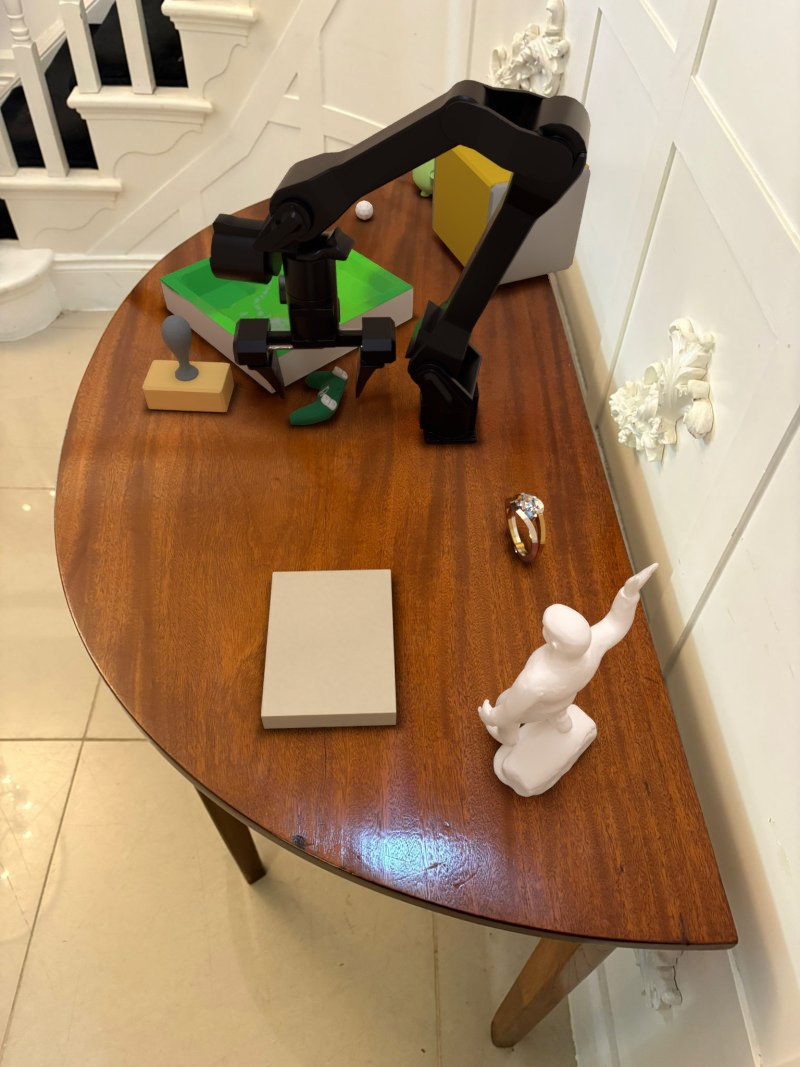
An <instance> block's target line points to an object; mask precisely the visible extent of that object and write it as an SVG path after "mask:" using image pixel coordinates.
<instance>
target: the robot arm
mask: <svg viewBox="0 0 800 1067" xmlns="http://www.w3.org/2000/svg"><path fill="white" fill-rule="evenodd" d="M591 128H592V126H591V119H590V114H589V112H588V110H587V109H586V108H585V105H584V104H583V103H582V102H580V101H579V100H578V99H577V98H575V97H572V96H569V95H565V94H563V95H559V94H558V95H552V96H550V97H548V96H545V95H542V94H539V93H536V92H534V91H530V90H526V89H520V88H519V89H518V88H509V87H498V86H492V85H489V84H486V83H483V82H481V81H478V80H473V79H464V80H460V81H458V82H456V83H455V84H453V85H452V86H451V87H450V88H449V90H447V91H446V92H444V93H443V94H441V95H439V96H437V97H436V98H433V99H432V100H431V101H429V102H427V103H424V105H422V106H420V107H418V108H417V109H415V110H414V111H412V112H410V113H408V114H407V115H405V116H403V117H401V118H399V119H398V120H396V121H394V122H393V123H391V124H389V125H387V126H386V127H384V128H382V129H381V130H379V131H377V132H375V133H373V134H372V135H370V136H369V137H367V138H365V139H363V140H361V141H360V142H358V143H356V144H355V145H353V146H351V147H349V148H346V149H343V150H341V151H333V152H331V151H330V152H322V153H320V154H317V155H314V156H313V155H312V156H311V157H308V158H305V159H301V160H299V161H297V162H295V163H293V165H291V166H290V167H289V168H288V170H287V172H286V173H285V175H284V177H283V178H282V179H281V181H280V182H279V184H278V186H277V187H276V189H275V190H274V192H273V194H271V197H270V198H269V204H268V211H269V212H268V214H267V215H266V217H265V218H264V219H263V220H261V219H255V218H248V217H247V218H246V217H241V216H240V217H239V216H235V215H234V214H233V215H232V214H230V213H229V214H228V213H218V214H217V216H216V217H215V219H214V220H213V222H212V229H213V234H212V238H211V243H210V244H211V245H210V256H211V257H210V256H209V257H210V259H209V262H210V267H211V271H212V273H213V275H214V276H215V277H216V278H218V279H225V280H233V281H241V282H248V283H256V284H263V285H267V284H269V283H270V281H271V279H272V277H273V276H276V277H277V276H278V275H279V274H280V271H281V268H282V263H283V272H284V274H280V275H279V276H278V282H279V301H280V304H287V308H288V316H289V325H290V331H271V322H270V319H269V318H240V319H239V321H238V322H237V323H236V327H235V333H234V339H233V354H234V360H235V363H236V364H238V365H239V366H245V365H247V368H248V369H249V370H255V371H257V372H258V373H259V374H260V375H261V376H262V377H263V378H264V379H265V380H266V381H267V382H268V383H269V384H270V385H271V386H272V387H273V389H274V390H275V391H276V392H275V393H276V394H277V395H278V396H279V398H280V399H281V400H286V386H285V385H284V380H283V376H282V372H281V368H280V364H279V360H278V356H277V350H304V349H324V348H336V347H357V348H358V355H357V364H356V372H355V381H354V382H355V384H354V388H355V389H354V393H355V399H359V398H360V397H361V394H362V392H363V391H364V388H365V386H366V384H367V383H368V381H369V379H370V378H371V377H372V376H373V374H374V373H375V372H376V370H380V369H382V370H383V368H385V367H386V365H389V364H394V363H395V362H396V361H397V337H396V336H397V335H396V327H395V322H394V321H393V319H392V318H391V317H362V328H360V329H340V328H339V323H340V300H339V298H338V291H337V274H336V260H339V261H346V260H347V258H348V256H349V254H350V252H351V249H353V247H354V245H355V239H354V238H352V237H351V236H350V235H349V234H347V233H345V232H344V231H343V230H342V229H341V227H340V226H338V225H336V226H334V228H333V229H332V230H330V231H327V230H328V229H329V228H330V227H332V226H333V225H334V224H336V222H338V220H339V219H340V218H342V216H343V215H344V214H345V213H347V211H348V210H349V209H350V208H351V207H352V206H353V205H354V204H355V203H358V201H359V200H360V199H362V198H363V197H365V196H367V195H369V194H370V193H372V192H374V191H376V190H378V189H380V188H382V187H384V186H385V185H387V184H390V183H391V182H393V181H395V180H397V179H398V178H401V177H402V176H405V175H406V174H408V173H410V172H412V170H414V169H415V168H417V167H419V166H421V165H423V164H425V163H427V162H429V161H430V160H432V159H434V158H436V157H438V156H440V155H442V154H444V153H445V152H447V151H449V150H451V149H453V148H455V147H457V146H459V145H462V146H465V147H468V148H471V149H473V150H475V151H477V152H478V153H480V154H481V155H483V156H484V157H486V158H487V159H489V160H490V161H492V162H493V163H495V164H496V165H498V166H499V167H501V168H503V169H505V170H508V171H510V172H512V173H511V176H510V179H509V183H508V186H507V189H506V191H505V192H504V194H503V196H502V198H501V200H500V202H499V204H498V206H497V208H496V209H495V211H494V213H493V215H492V217H491V219H490V221H489V223H488V224H487V226H486V228H485V230H484V232H483V234H482V236H481V238H480V239H479V241H478V243H477V245H476V247H475V249H474V251H473V253H472V254H471V256H470V258H469V260H468V262H467V264H466V266H465V267H463V269H462V271H461V273H460V275H459V277H458V279H457V281H456V283H455V284H454V287H453V288H452V290H451V292H450V294H449V295H448V297H447V298H446V299H445V301H443V302H442V303H440V304H439V305H438V304H436V303H435V302H433V301H432V300H431V299H428V300H427V303H426V306H425V309H424V312H423V315H422V317H421V318H420V319H419V320H417V321H416V322H415V325H414V328H413V331H412V334H411V337H410V340H409V343H408V345H407V349H406V352H405V355H404V358H405V359H409V360H408V363H407V366H406V372H407V374H408V375H409V377H410V379H411V380H412V381H413V383H415V384H416V385H417V386H418V388H419V393H418V394H419V395H418V425H419V429H420V430H421V431H422V432H423V433H422V434H423V441H424V443H425V444H427V445H428V444H474V443H476V442H478V434H477V426H476V424H477V416H478V410H479V400H480V390H479V385H478V378H479V373H480V369H481V365H482V360H483V354H482V353H480V351H479V350H478V349H477V348H476V347H475V346H474V345H473V344H472V343H471V342H470V341H471V340H470V339H471V337H472V333H473V330H474V328H475V327H476V324H477V323H478V321H479V320H480V317H481V316H482V315H483V313H484V311H485V309H486V308H487V306H488V304H489V303H490V301H491V299H492V297H493V295H494V294H495V293H496V291H497V288H498V287H499V286H500V285H501V284H500V282H501V280H502V279H503V277H504V275H505V274H506V272H507V270H508V268H509V267H510V265H511V263H512V262H513V260H514V258H515V256H516V255H517V253H518V251H519V250H520V248H521V246H522V245H523V243H524V241H525V239H526V238H527V236H528V234H529V233H530V231H531V229H532V228H533V226H534V224H535V223H536V221H537V220H538V219H539V218H540V217H541V216H543V215H544V214H545V213H546V212H548V211H549V210H550V209H551V208H553V207H554V206H555V205H556V204H557V203H558V202H559V201H560V200H561V199H562V197H563V196H564V195H565V194H566V193H567V192H568V190H569V189H570V188H571V187H572V186H573V185H574V183H575V182H576V181H577V180H578V179H579V177H580V176H581V175H582V173H583V170H584V168H585V165H586V164H587V160H588V151H589V143H590V136H591V135H590V134H591ZM499 284H500V285H499ZM235 363H234V364H235ZM236 364H235V365H236ZM239 366H238V367H239Z"/></svg>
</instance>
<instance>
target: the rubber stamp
mask: <svg viewBox="0 0 800 1067" xmlns="http://www.w3.org/2000/svg"><path fill="white" fill-rule="evenodd" d="M161 336H162V340H163V342H164V344H165V345H166V347H167V348H168V350H170V351H171V353H172V354H173V356H174V357H175V359H176V360H170V359H169V360H167V359H154V360H152V362H151V364H150V367H149V368H148V372H147V374H146V377H145V379H144V382H143V384H142V387H141V388H142V391H143V395H144V399H145V401H146V405H147V407H148V410H164V411H165V410H166V411H185V412H186V411H187V412H209V413H210V412H211V413H213V412H214V413H227V412H228V408H229V406H230V401H231V399H232V395H233V391H234V388H235V381H234V376H233V372H232V366H231V364H230V363H228V362H217V361H215V362H214V361H195V360H194V361H191V360H190V358H189V357H190V351H191V346H192V340H193V336H192V328H191V327H190V325H189V323H188V322H187V321H186V320H185V319H184V318H183V317H181V316H178V315H174V314H172V315H169V316H167V317H165V319H164V320H163V321H162V323H161Z"/></svg>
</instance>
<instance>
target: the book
mask: <svg viewBox="0 0 800 1067" xmlns="http://www.w3.org/2000/svg"><path fill="white" fill-rule="evenodd" d="M271 576H272V577H271V586H270V587H271V588H270V602H269V614H268V624H267V638H266V649H265V660H264V661H265V662H264V674H263V684H262V685H263V686H262V698H261V709H260V710H261V711H260V719H261V721H262V725H263V728H264V730H266V729H267V730H268V729H296V728H297V729H298V728H301V729H302V728H334V727H335V728H336V727H358V726H359V727H364V726H365V727H366V726H367V727H368V726H396V725H397V696H396V695H397V694H396V670H395V668H396V667H395V644H394V617H393V593H392V570H391V569H389V568H388V569H387V568H385V569H384V568H383V569H343V570H341V569H340V570H339V569H337V570H300V571H299V570H298V571H296V570H295V571H273V572H272V575H271Z"/></svg>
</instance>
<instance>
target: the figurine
mask: <svg viewBox="0 0 800 1067" xmlns="http://www.w3.org/2000/svg"><path fill="white" fill-rule="evenodd" d="M658 568H659V562H654V563H652V564H651V565H649V566H647V567H645V568H644V569H642V570H641V571H639V572H638V573H636V574H634V575H633V576H631V577H629V578H628V579H627V580H626V581H625V583H624V586H622V587H621V588H620V589H619V590H618V592H617V594H616V595H615V598H614V600H613V602H612V604H611V606H610V609H609V612H608V613H607V614H606V615H605V616H604V617H603V619H601V620H600V621H598V622H597V623H595V624H593V625H592V626H590V625H589V622H588V620H586V618H585V617H584V616H583V615H582V614H581V613H580V612H578V611H576V610H575V609H573V608H571V607H570V606H567V605H566V604H565V605H564V604H562V603H554V604H551V605H550V606H548V607H547V608H546V609H545V611H544V612H543V616H542V620H541V622H542V625H543V626H542V636H543V639H544V640H545V642H546V643H545V644H543V645H541V646H540V647H538V648H536V649H535V650H534V651H533V652H532V653H531V654H530V656H529V657H528V659H527V661H526V663H525V665H524V669H522V670H521V671H520V673H519V674H518V676H517V677H516V679H515V680H514V682H513V683H512V685H511V686H510V687H509V688H507V689H505V690H504V691H503V692H502V693H500V695H498V697H497V699H496V701H495V705H494V707H492V705H491V704H490V699H488V698H487V699H485V700H484V701H483V704H482V706H478V708H477V712H478V716H479V717H480V720H481V722H483V724H484V725H485V728H486V730H487V732H488V734H490V736H491V737H492V738H493V739H495V740H496V741H497V742H499V743H500V744H501V745H500V747H499V748H498V749H497V750H496V753H495V754H494V757H493V770H494V774H495V775H496V777H497V778H498V779H499V781H500V782H502V784H504V785H506V786H508V787H510V788H511V789H512V790H514V792H515V793H516V794H517V795H518V796H521V797H523V798H524V797H525V798H529V797H532V796H538V795H542V794H543V793H545V792H546V791H548V790H549V789H550V788H552V787H554V785H555V784H557V782H559V780H560V779H561V778H562V776H564V775H565V774H566V773H567V772H569V771H570V770H571V768H572V767H573V765H575V763H576V762H577V761H578V759H579V758H580V756H581V755H582V754H583V753H584V752H585V751H586V750H587V749H588V747H590V745H591V744H592V742H593V741H595V739H596V737H597V735H598V728H597V724H596V723H595V721H594V720H593V719H592V718H591V717H590V716H589V715H588V714H587V713H586V712H585V711H584V710H582V709H581V708H580V707H579V706H578V705H576V704H575V703H573V702H574V700H575V699H576V697H577V694H578V693H579V692H580V691H581V690H583V689H584V688H585V687H586V686H587V685H588V683H589V682H590V681H591V680H592V679H593V677H594V676H595V674H596V672H597V670H598V669H599V666H600V664H601V661H602V658H603V657H604V655H605V654H606V652H608V650H610V649H612V648H613V647H615V646H616V645H617V644H618V643H619V642H621V641H622V640H623V639H624V638H625V636H626V635H627V634H628V632H629V631H630V629H631V627H632V624H633V623H634V620H635V615H636V610H637V606H638V603H639V601H640V597H641V594H640V592H639V591H640V590H641V589H642V588H643V586H644V585H645V584H646V582H647V581H648V580H649V579H650V578H651V577H652V575H653V573H654V572H655V571H656V570H657V569H658ZM521 724H523V725H522V726H521Z"/></svg>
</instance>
